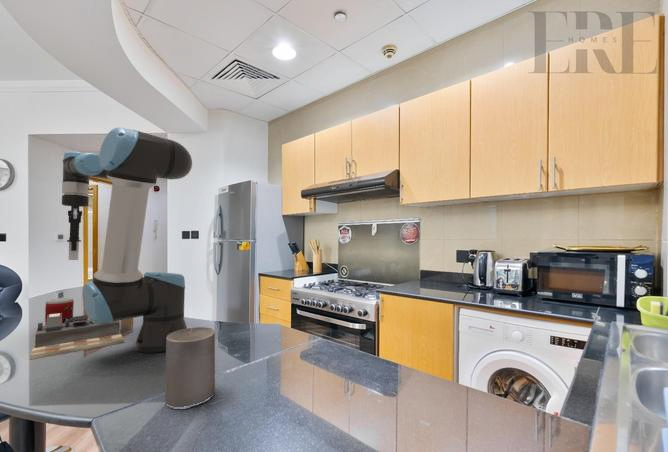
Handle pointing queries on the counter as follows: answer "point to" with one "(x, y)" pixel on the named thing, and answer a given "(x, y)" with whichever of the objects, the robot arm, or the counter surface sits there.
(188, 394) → the pillar candle
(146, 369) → the counter surface
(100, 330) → the switch unit
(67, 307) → the canned food
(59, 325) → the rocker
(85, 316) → the rocker middle
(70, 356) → the counter surface
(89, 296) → the robot arm
